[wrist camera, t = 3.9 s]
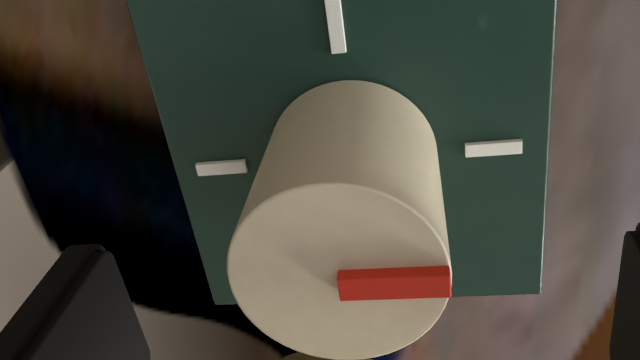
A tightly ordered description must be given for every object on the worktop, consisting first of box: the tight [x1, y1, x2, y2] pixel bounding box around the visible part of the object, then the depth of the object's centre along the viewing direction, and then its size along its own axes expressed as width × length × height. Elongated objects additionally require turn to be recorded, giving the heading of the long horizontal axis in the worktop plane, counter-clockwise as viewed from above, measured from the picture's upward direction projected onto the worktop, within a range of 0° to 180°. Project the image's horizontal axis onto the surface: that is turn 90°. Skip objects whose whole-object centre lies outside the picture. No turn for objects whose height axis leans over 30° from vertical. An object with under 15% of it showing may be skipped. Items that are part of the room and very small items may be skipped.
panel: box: [126, 0, 557, 305], centre depth 17 cm, size 10×10×3 cm
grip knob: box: [227, 80, 452, 360], centre depth 14 cm, size 4×4×5 cm
